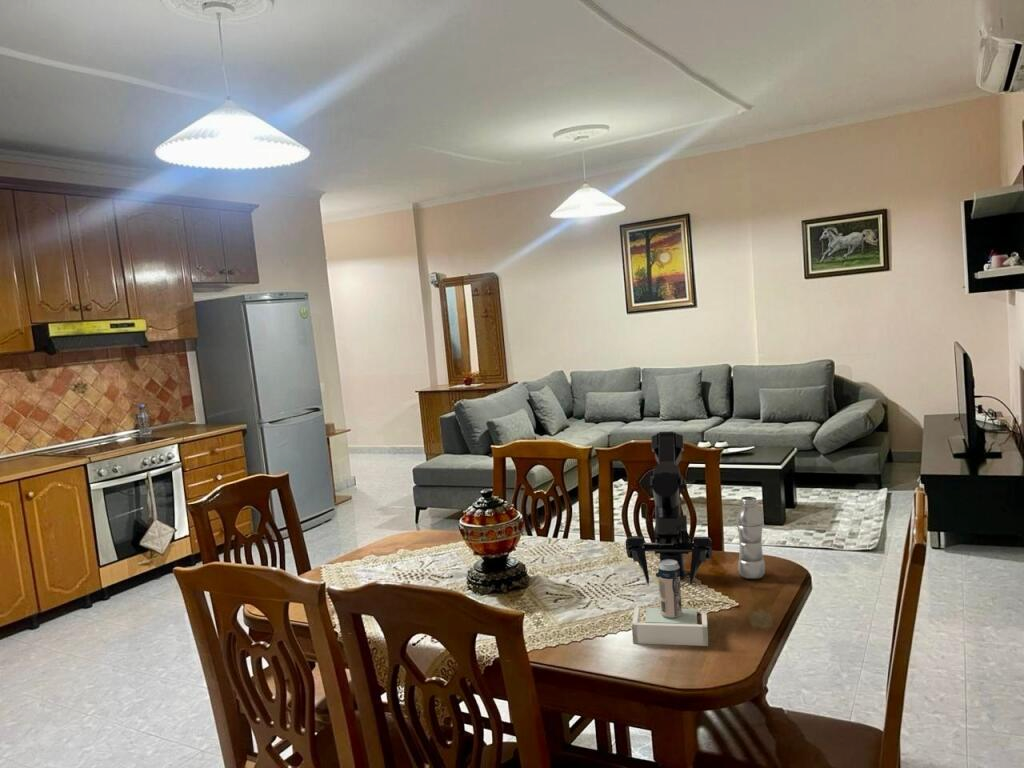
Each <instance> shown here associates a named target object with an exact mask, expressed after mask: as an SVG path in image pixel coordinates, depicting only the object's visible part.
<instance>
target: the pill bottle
mask: <svg viewBox="0 0 1024 768" xmlns="http://www.w3.org/2000/svg"><path fill="white" fill-rule="evenodd" d="M657 570H658V572H657V573H658V574H659V576H658V588H659V608H660V614H661V615H663V616H664V617H666V618H677V617H679V616H680V615H682V609H683V608H682V592H681V591H682V590H681V588H682V587H681V579H680V565H679V564H678V562H677V561H676V560H672V559H665V560H661V561H660V560H659V563H658V564H657Z"/></svg>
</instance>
